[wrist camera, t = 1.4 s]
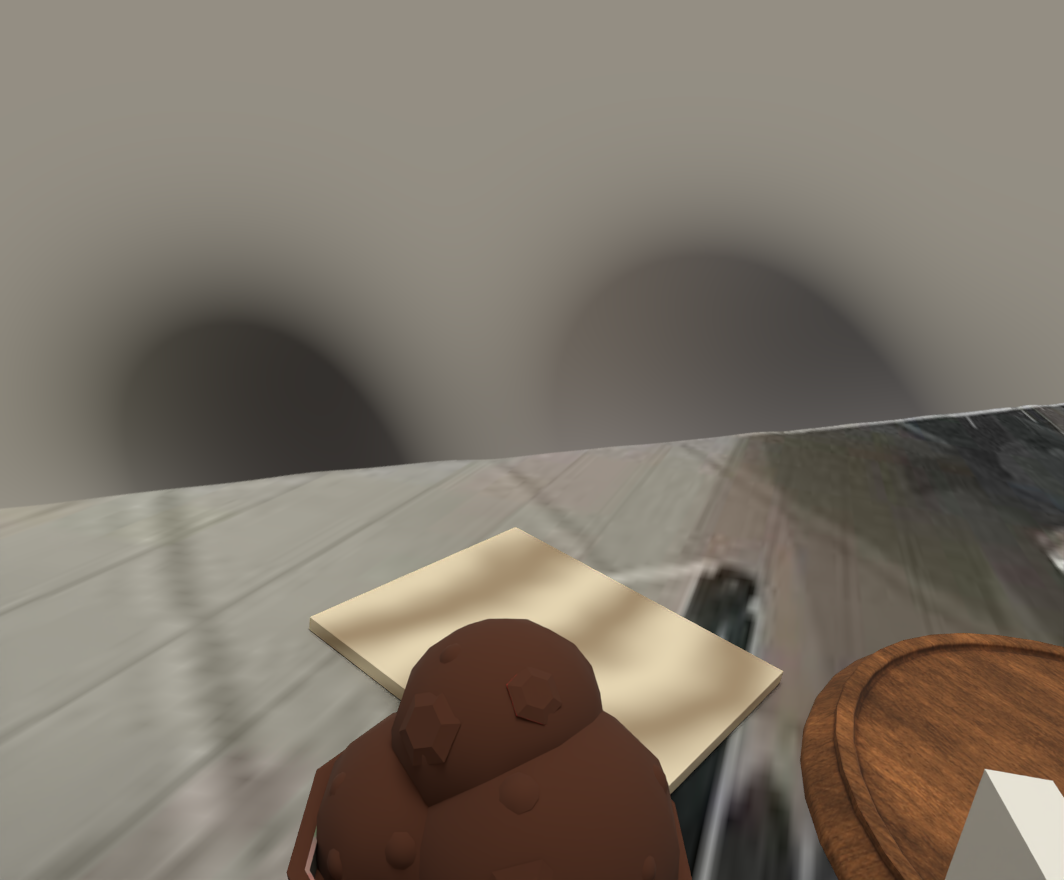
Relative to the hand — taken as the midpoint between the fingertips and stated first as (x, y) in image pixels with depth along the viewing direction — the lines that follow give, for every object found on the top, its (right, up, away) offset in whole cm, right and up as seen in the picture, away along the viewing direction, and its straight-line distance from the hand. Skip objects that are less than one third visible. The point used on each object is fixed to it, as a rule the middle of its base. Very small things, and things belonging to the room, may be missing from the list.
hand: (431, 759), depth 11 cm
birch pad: (+2, -8, +35) cm, 36 cm away
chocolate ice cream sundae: (-1, -16, +16) cm, 22 cm away
